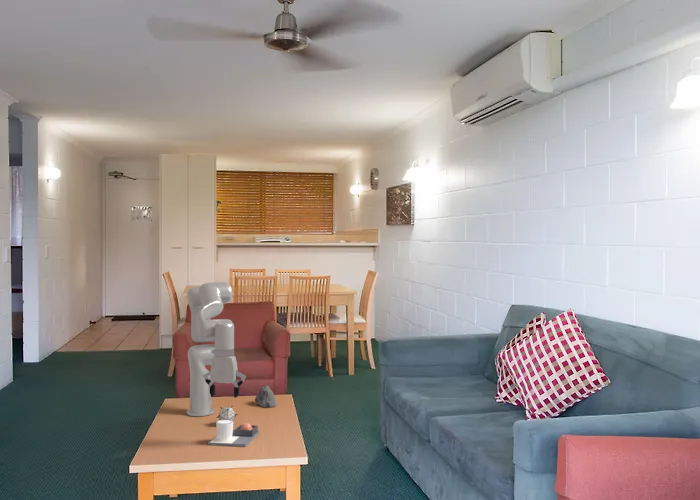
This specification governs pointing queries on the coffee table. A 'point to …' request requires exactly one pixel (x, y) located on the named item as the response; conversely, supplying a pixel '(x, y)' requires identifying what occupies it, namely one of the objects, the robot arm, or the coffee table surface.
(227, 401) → the coffee table surface
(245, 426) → the dome
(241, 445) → the board
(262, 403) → the mineral rock
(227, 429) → the shot glass
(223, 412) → the game die
